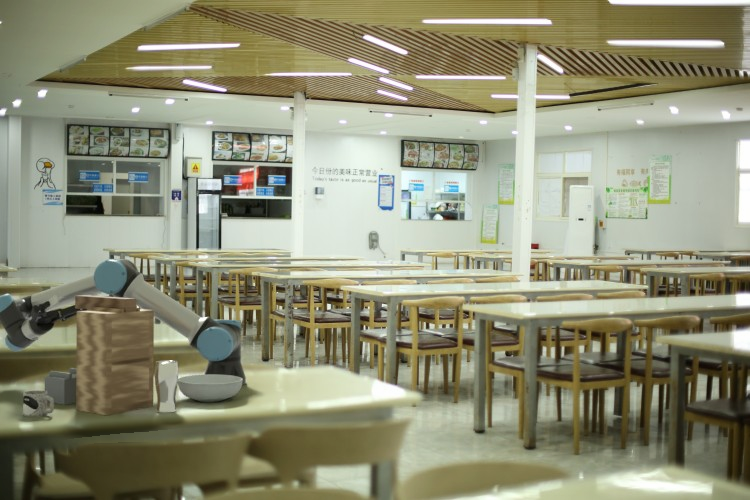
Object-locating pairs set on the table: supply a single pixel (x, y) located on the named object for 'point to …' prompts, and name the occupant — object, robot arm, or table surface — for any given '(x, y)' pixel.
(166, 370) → the beer glass
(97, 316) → the oak stand
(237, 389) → the serving bowl
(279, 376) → the table surface
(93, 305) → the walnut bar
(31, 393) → the mug
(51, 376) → the grey cradle
